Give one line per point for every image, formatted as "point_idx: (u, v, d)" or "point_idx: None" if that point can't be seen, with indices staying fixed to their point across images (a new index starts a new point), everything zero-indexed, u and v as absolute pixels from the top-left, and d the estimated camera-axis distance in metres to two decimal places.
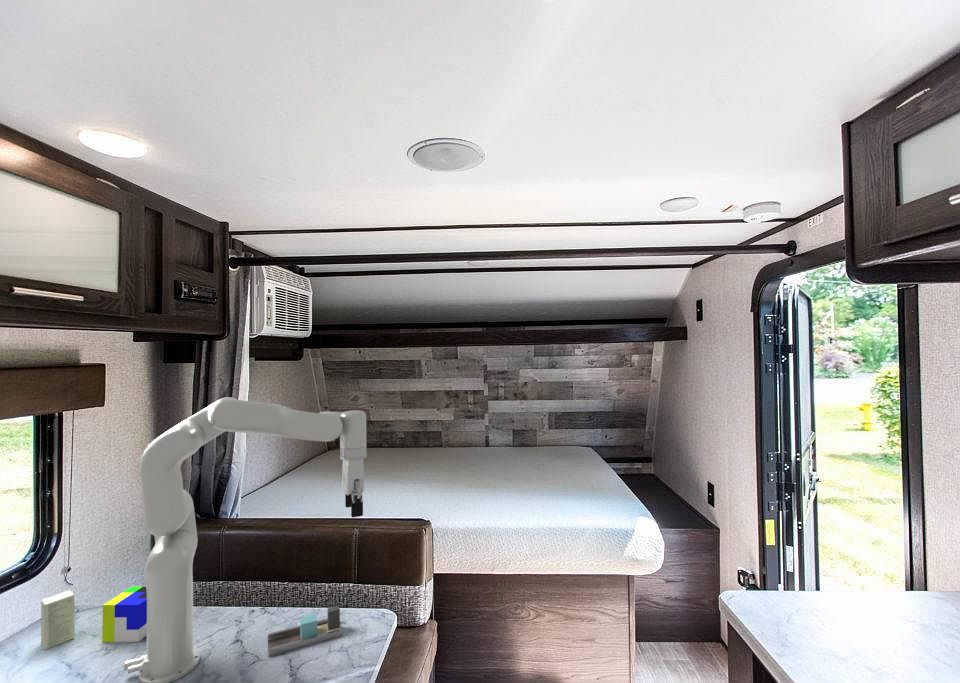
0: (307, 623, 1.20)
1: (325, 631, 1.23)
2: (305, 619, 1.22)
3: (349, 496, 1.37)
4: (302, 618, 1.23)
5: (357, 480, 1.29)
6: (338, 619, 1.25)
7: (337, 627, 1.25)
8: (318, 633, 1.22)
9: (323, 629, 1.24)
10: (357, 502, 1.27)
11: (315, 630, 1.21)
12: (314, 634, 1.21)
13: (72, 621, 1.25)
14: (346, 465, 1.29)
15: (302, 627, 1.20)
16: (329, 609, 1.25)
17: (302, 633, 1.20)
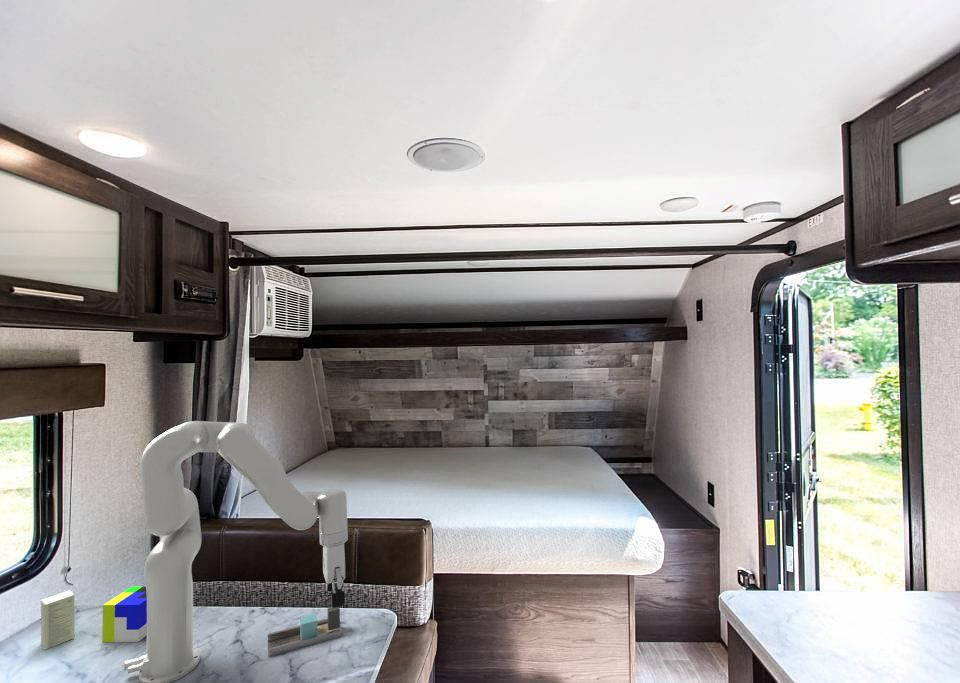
0: (307, 623, 1.20)
1: (325, 631, 1.23)
2: (305, 619, 1.22)
3: None
4: (302, 618, 1.23)
5: (338, 568, 1.21)
6: (338, 619, 1.25)
7: (337, 627, 1.25)
8: (318, 633, 1.22)
9: (323, 629, 1.24)
10: (338, 592, 1.20)
11: (315, 630, 1.21)
12: (314, 634, 1.21)
13: (72, 621, 1.25)
14: (326, 552, 1.22)
15: (302, 627, 1.20)
16: (329, 609, 1.25)
17: (302, 633, 1.20)
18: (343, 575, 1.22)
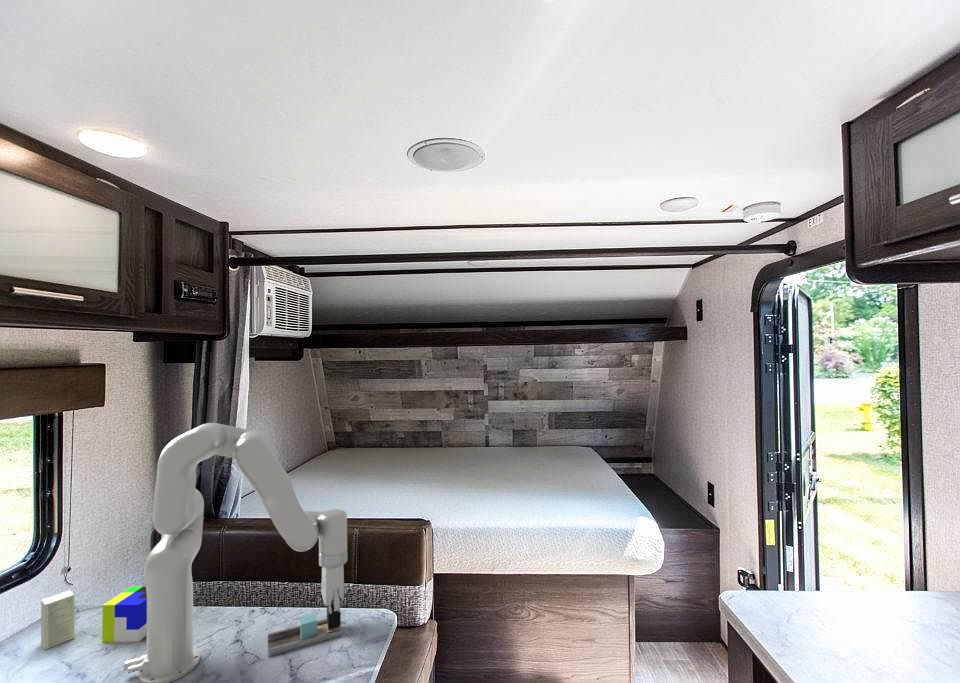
0: (307, 623, 1.20)
1: (325, 631, 1.23)
2: (305, 619, 1.22)
3: None
4: (302, 618, 1.23)
5: (336, 593, 1.21)
6: None
7: (337, 627, 1.25)
8: (318, 633, 1.22)
9: (323, 629, 1.24)
10: (334, 613, 1.23)
11: (315, 630, 1.21)
12: (314, 634, 1.21)
13: (72, 621, 1.25)
14: (325, 573, 1.22)
15: (302, 627, 1.20)
16: None
17: (302, 633, 1.20)
18: None
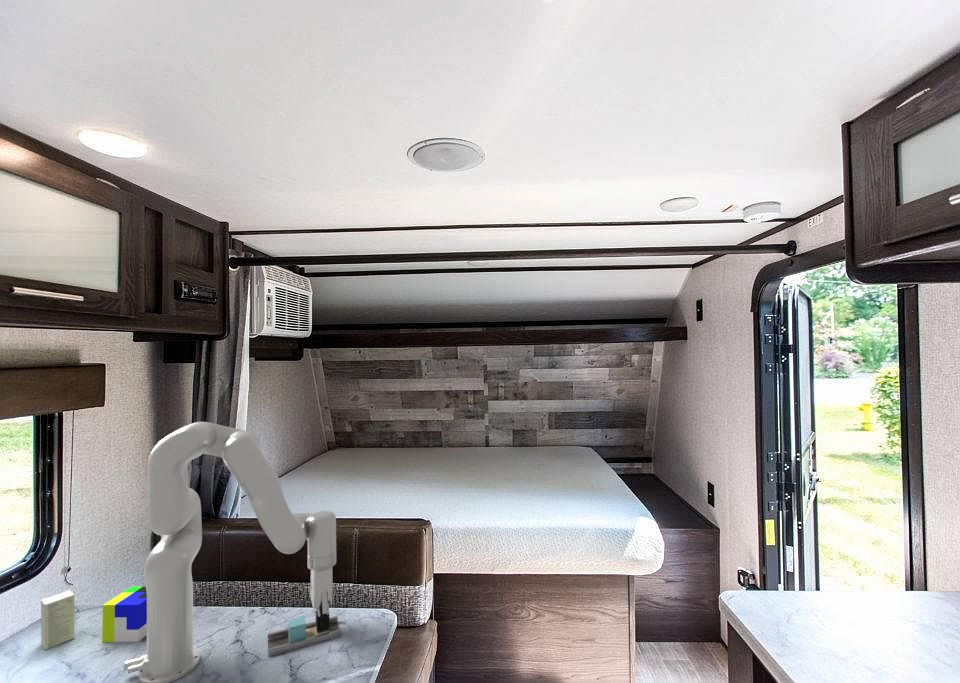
0: (296, 626, 1.19)
1: (314, 634, 1.22)
2: (293, 622, 1.21)
3: None
4: (290, 621, 1.21)
5: (324, 595, 1.20)
6: None
7: (326, 630, 1.23)
8: (306, 636, 1.21)
9: (311, 632, 1.23)
10: (323, 616, 1.22)
11: (303, 633, 1.20)
12: (302, 637, 1.20)
13: (72, 621, 1.25)
14: (313, 575, 1.21)
15: (290, 630, 1.19)
16: None
17: (290, 636, 1.18)
18: (329, 604, 1.21)
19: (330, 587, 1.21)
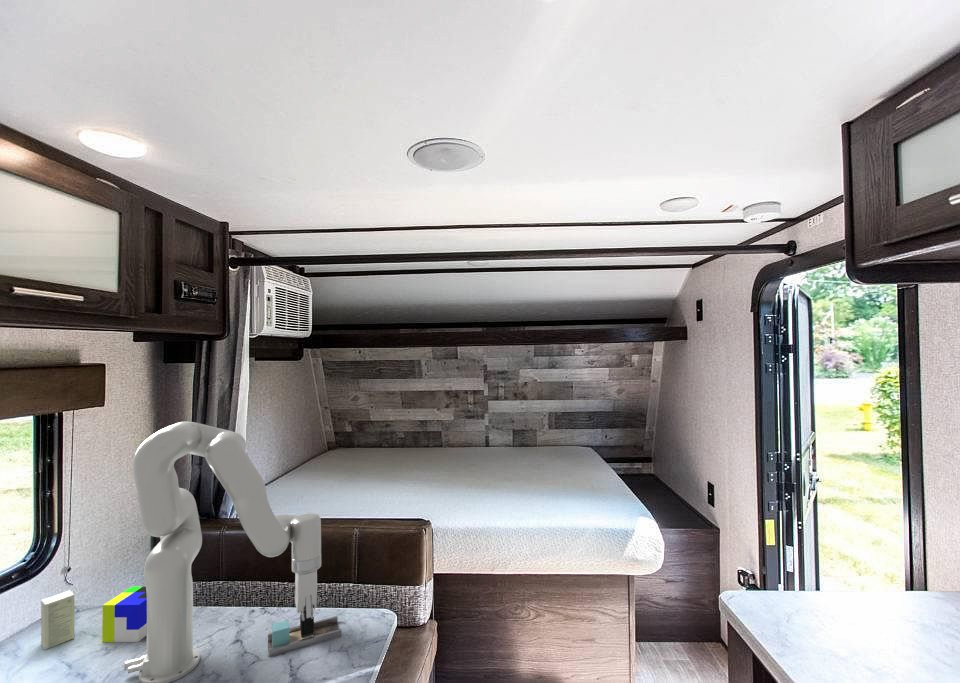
0: (279, 630, 1.17)
1: (298, 638, 1.20)
2: (277, 626, 1.19)
3: None
4: (274, 625, 1.20)
5: (309, 599, 1.18)
6: None
7: (310, 634, 1.21)
8: (290, 640, 1.19)
9: (295, 636, 1.21)
10: (307, 620, 1.20)
11: (287, 637, 1.18)
12: (286, 642, 1.18)
13: (72, 621, 1.25)
14: (297, 579, 1.19)
15: (273, 634, 1.17)
16: None
17: (273, 641, 1.17)
18: (314, 608, 1.20)
19: (314, 591, 1.19)
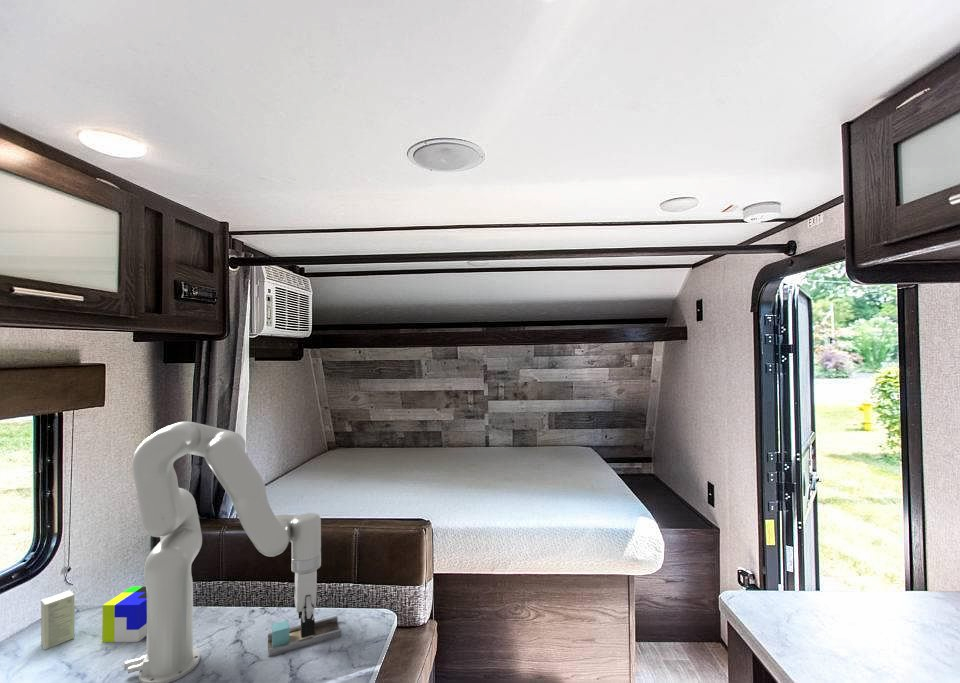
0: (279, 630, 1.17)
1: (298, 638, 1.20)
2: (277, 626, 1.19)
3: None
4: (274, 625, 1.19)
5: (308, 596, 1.18)
6: None
7: None
8: (290, 640, 1.19)
9: (295, 636, 1.21)
10: (308, 621, 1.17)
11: (287, 637, 1.18)
12: (286, 642, 1.18)
13: (72, 621, 1.25)
14: (297, 579, 1.19)
15: (273, 634, 1.17)
16: None
17: (273, 641, 1.17)
18: (314, 603, 1.19)
19: (314, 590, 1.19)
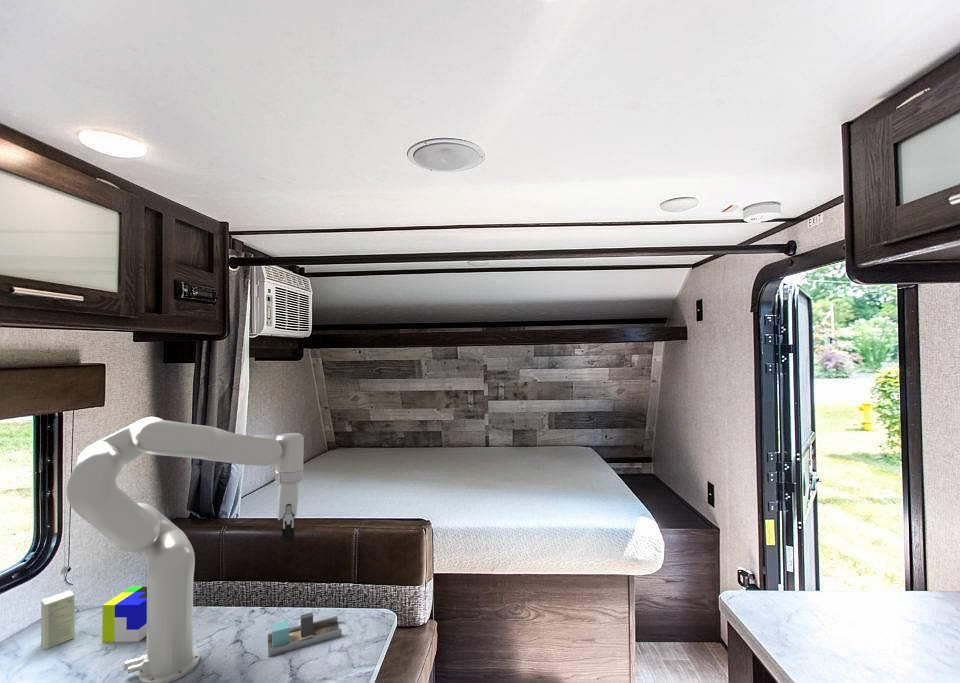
0: (279, 630, 1.17)
1: (298, 638, 1.20)
2: (277, 626, 1.19)
3: None
4: (274, 625, 1.19)
5: (289, 505, 1.27)
6: (311, 626, 1.22)
7: (310, 634, 1.21)
8: (290, 640, 1.19)
9: (295, 636, 1.21)
10: (287, 528, 1.25)
11: (287, 637, 1.18)
12: (286, 642, 1.18)
13: (72, 621, 1.25)
14: (279, 489, 1.28)
15: (273, 634, 1.17)
16: (302, 616, 1.22)
17: (273, 641, 1.17)
18: (294, 513, 1.27)
19: (294, 501, 1.28)
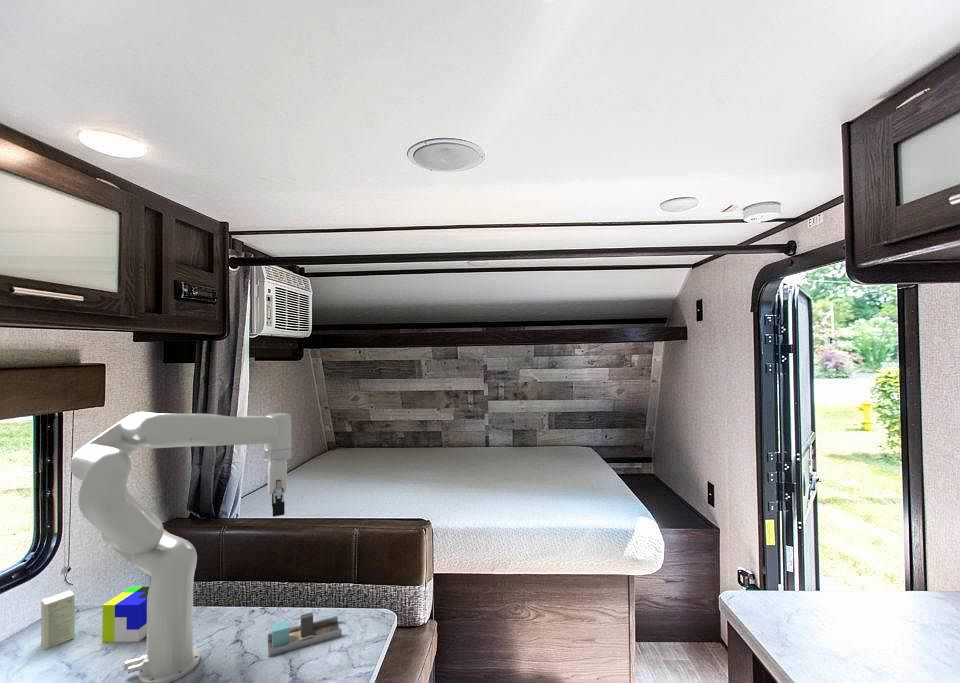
0: (279, 630, 1.17)
1: (298, 638, 1.20)
2: (277, 626, 1.19)
3: (275, 496, 1.41)
4: (274, 625, 1.19)
5: (279, 480, 1.33)
6: (311, 626, 1.22)
7: (310, 634, 1.21)
8: (290, 640, 1.19)
9: (295, 636, 1.21)
10: (278, 502, 1.32)
11: (287, 637, 1.18)
12: (286, 642, 1.18)
13: (72, 621, 1.25)
14: (268, 466, 1.34)
15: (273, 634, 1.17)
16: (302, 616, 1.22)
17: (273, 641, 1.17)
18: (284, 488, 1.34)
19: (284, 476, 1.34)
